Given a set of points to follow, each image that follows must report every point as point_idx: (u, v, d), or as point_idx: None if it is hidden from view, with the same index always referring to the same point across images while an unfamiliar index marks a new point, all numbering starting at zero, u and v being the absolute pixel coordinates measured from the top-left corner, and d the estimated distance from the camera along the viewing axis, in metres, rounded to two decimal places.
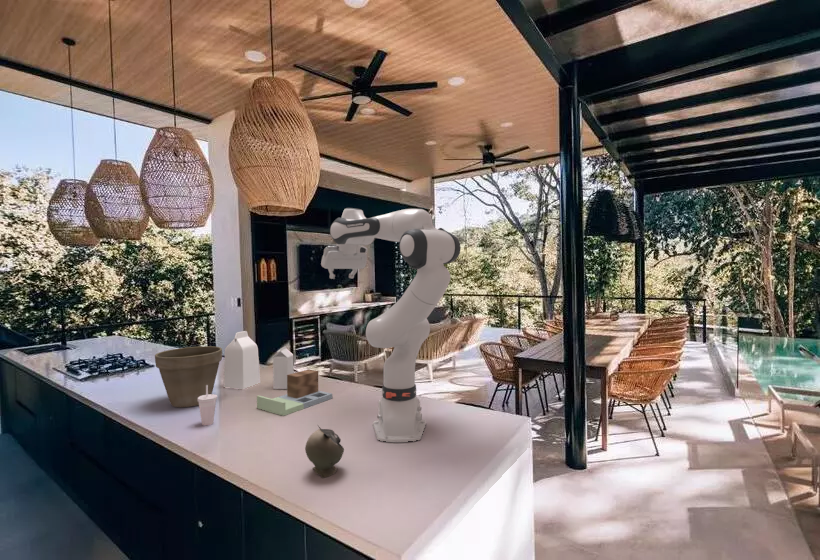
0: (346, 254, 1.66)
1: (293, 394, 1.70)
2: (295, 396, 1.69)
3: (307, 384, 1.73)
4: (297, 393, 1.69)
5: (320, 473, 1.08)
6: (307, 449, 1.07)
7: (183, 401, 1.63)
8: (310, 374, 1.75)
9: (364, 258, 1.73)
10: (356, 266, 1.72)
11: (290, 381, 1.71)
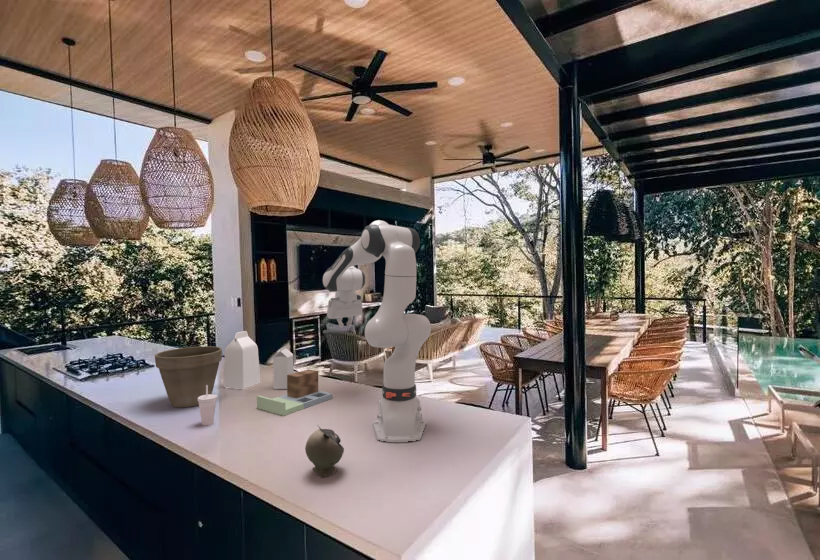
0: (347, 303, 1.85)
1: (293, 394, 1.70)
2: (295, 396, 1.69)
3: (307, 384, 1.73)
4: (297, 393, 1.69)
5: (320, 473, 1.08)
6: (307, 449, 1.07)
7: (183, 401, 1.63)
8: (310, 374, 1.75)
9: (360, 305, 1.93)
10: (355, 313, 1.91)
11: (290, 381, 1.71)
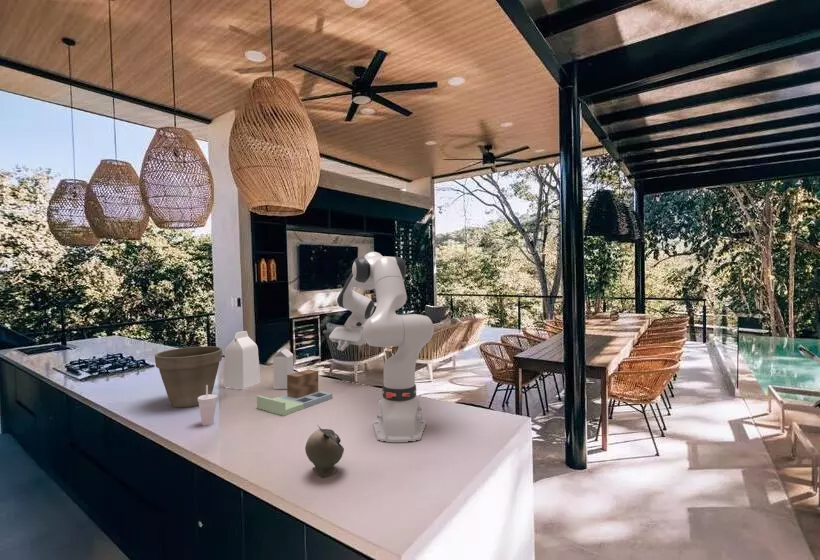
0: (346, 327, 2.00)
1: (293, 394, 1.70)
2: (295, 396, 1.69)
3: (307, 384, 1.73)
4: (297, 393, 1.69)
5: (320, 473, 1.08)
6: (307, 449, 1.07)
7: (183, 401, 1.63)
8: (310, 374, 1.75)
9: (360, 332, 1.94)
10: (352, 338, 1.94)
11: (290, 381, 1.71)
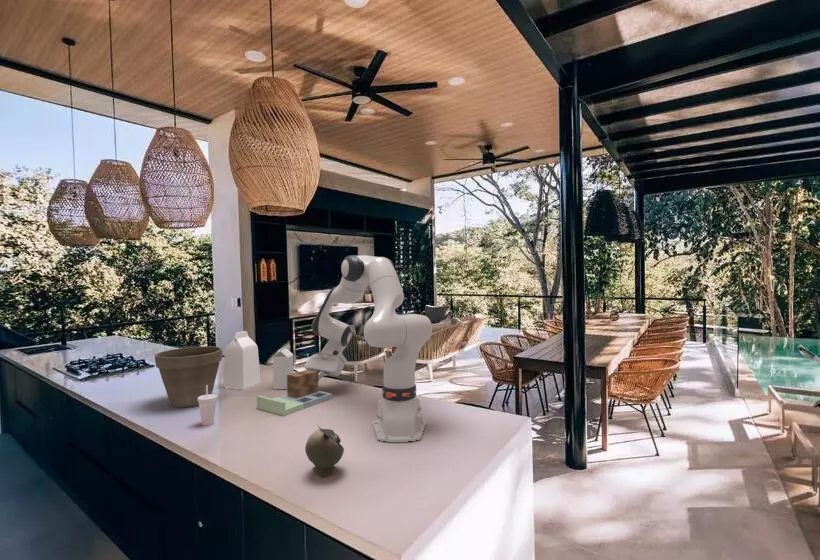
0: (322, 355, 1.86)
1: (293, 394, 1.70)
2: (295, 396, 1.69)
3: (307, 384, 1.73)
4: (297, 393, 1.69)
5: (320, 473, 1.08)
6: (307, 449, 1.07)
7: (183, 401, 1.63)
8: (310, 374, 1.75)
9: (336, 362, 1.80)
10: (327, 368, 1.80)
11: (290, 381, 1.71)
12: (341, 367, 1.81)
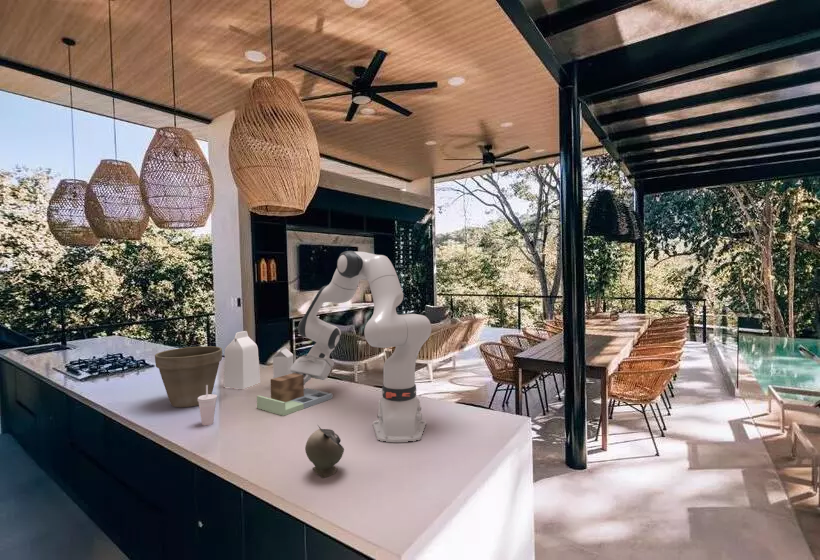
0: (308, 358, 1.79)
1: (277, 399, 1.63)
2: None
3: (292, 389, 1.67)
4: (280, 398, 1.62)
5: (320, 473, 1.08)
6: (307, 449, 1.07)
7: (183, 401, 1.63)
8: (295, 378, 1.68)
9: (322, 365, 1.73)
10: (313, 372, 1.73)
11: (273, 385, 1.64)
12: (328, 370, 1.74)
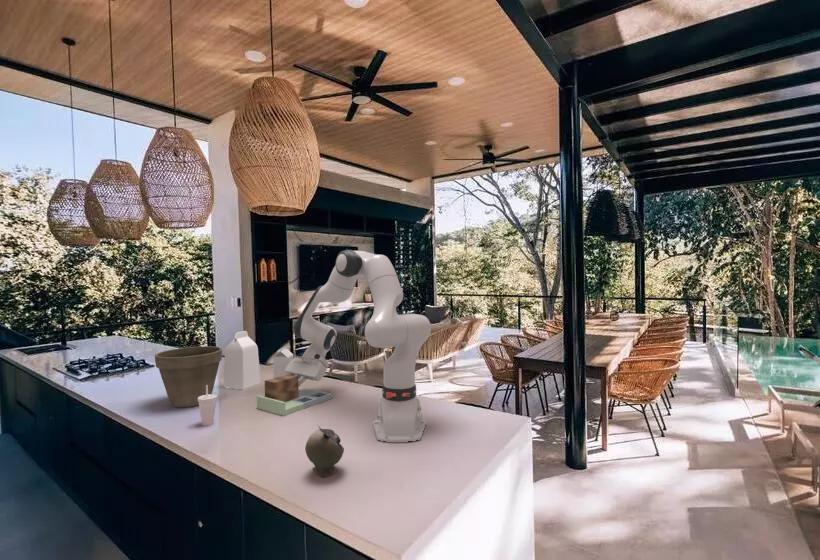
0: (303, 359, 1.77)
1: None
2: None
3: (286, 390, 1.65)
4: None
5: (320, 473, 1.08)
6: (307, 449, 1.07)
7: (183, 401, 1.63)
8: (289, 379, 1.66)
9: (317, 366, 1.71)
10: (308, 373, 1.71)
11: (267, 387, 1.62)
12: (323, 372, 1.72)
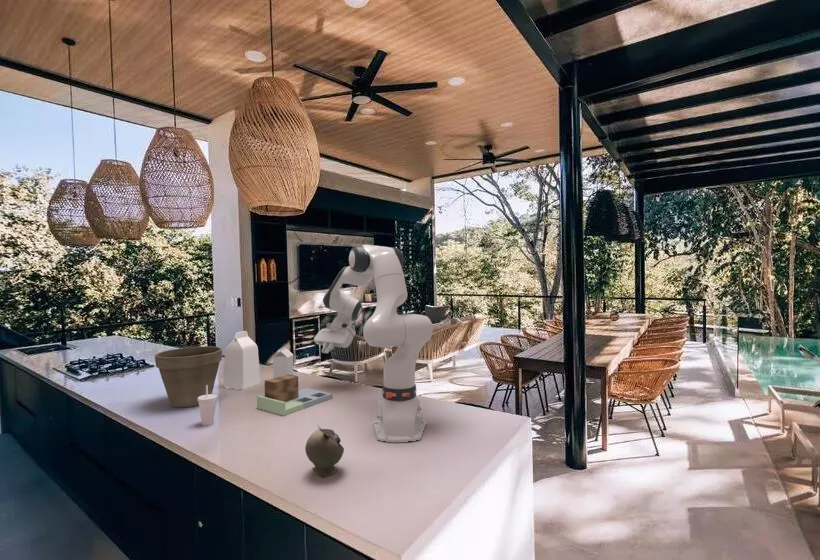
0: (331, 329, 1.91)
1: None
2: None
3: (286, 390, 1.65)
4: None
5: (320, 473, 1.08)
6: (307, 449, 1.07)
7: (183, 401, 1.63)
8: (289, 379, 1.66)
9: (345, 334, 1.85)
10: (337, 340, 1.85)
11: (267, 387, 1.62)
12: (350, 339, 1.85)
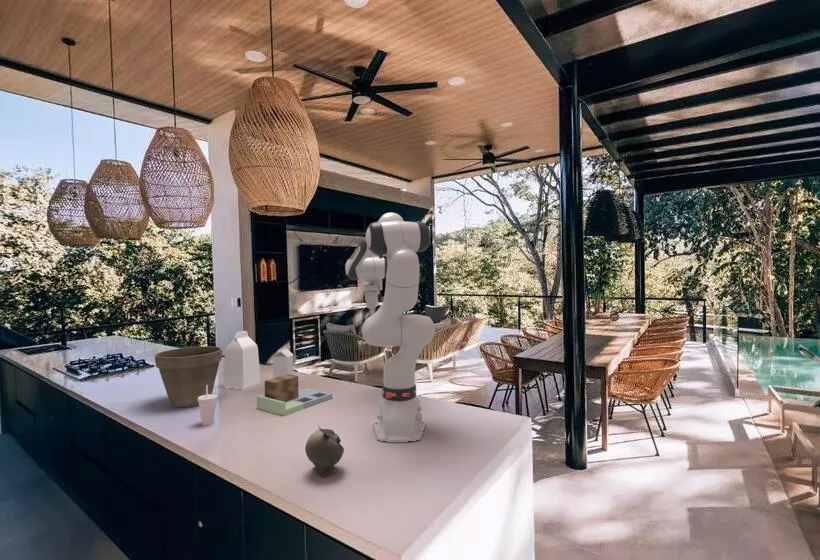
0: None
1: None
2: None
3: (286, 390, 1.65)
4: None
5: (320, 473, 1.08)
6: (307, 449, 1.07)
7: (183, 401, 1.63)
8: (289, 379, 1.66)
9: None
10: None
11: (267, 387, 1.62)
12: (372, 298, 1.73)
